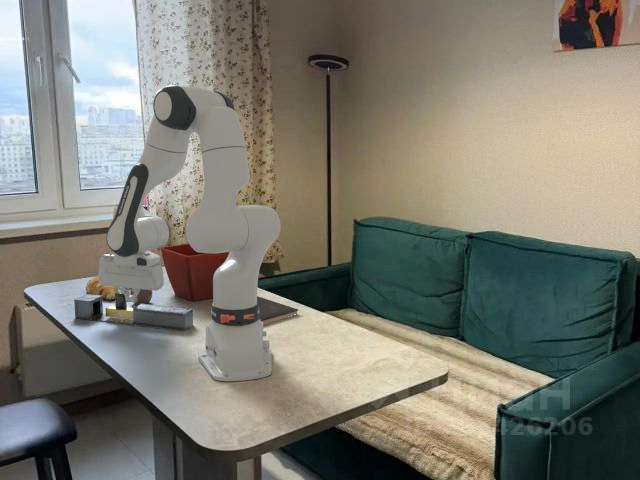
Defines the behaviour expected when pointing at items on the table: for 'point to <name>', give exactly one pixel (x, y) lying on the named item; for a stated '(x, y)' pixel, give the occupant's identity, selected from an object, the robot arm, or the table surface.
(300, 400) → the table surface
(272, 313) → the hardcover book
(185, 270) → the plant pot
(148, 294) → the vase
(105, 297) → the croissant
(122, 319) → the guide
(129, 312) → the sliding bolt
